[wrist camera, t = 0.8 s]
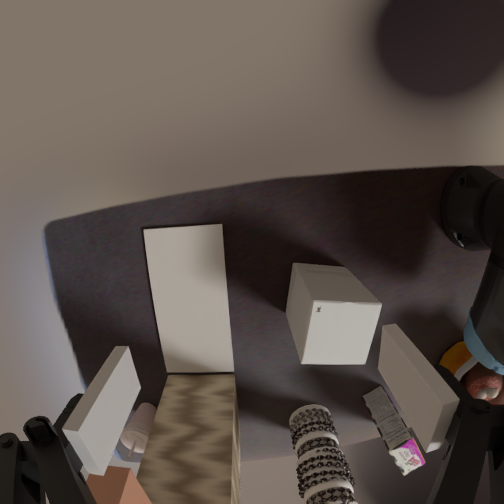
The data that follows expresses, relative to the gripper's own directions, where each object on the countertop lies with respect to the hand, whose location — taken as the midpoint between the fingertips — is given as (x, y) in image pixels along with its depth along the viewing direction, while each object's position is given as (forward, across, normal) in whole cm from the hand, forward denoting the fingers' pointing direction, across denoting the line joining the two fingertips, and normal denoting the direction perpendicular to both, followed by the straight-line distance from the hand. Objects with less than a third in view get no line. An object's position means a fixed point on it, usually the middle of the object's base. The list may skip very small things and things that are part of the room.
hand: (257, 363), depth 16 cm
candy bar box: (+35, -24, +38) cm, 57 cm away
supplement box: (+34, -10, +10) cm, 37 cm away
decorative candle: (+35, -9, +38) cm, 52 cm away
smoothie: (+34, +23, +33) cm, 53 cm away
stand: (+34, +11, +32) cm, 48 cm away
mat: (+34, +10, +11) cm, 37 cm away
